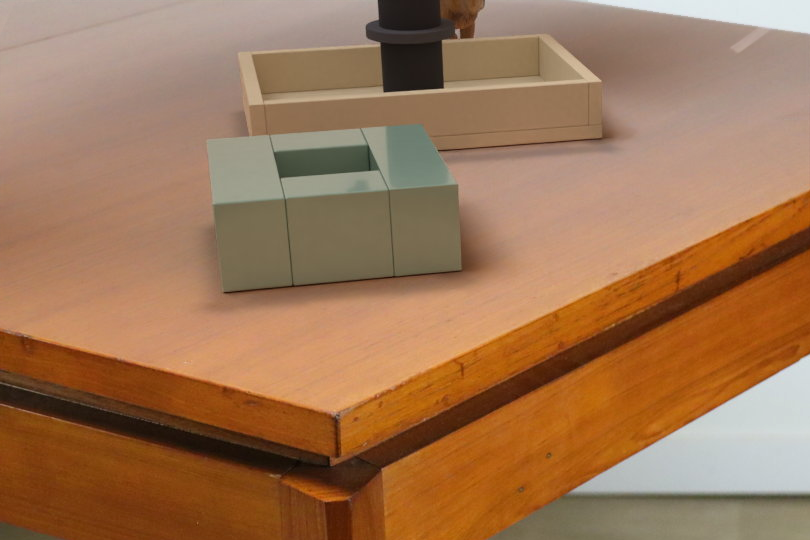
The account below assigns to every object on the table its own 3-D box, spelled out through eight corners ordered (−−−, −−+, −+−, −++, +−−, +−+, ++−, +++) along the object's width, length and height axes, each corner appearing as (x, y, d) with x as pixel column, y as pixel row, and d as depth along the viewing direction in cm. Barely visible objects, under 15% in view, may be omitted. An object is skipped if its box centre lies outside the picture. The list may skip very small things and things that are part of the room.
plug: (376, 121, 88) (363, -76, 83) (365, 99, 92) (353, -88, 88) (465, 114, 89) (457, -80, 84) (450, 94, 93) (442, -92, 89)
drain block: (222, 292, 65) (212, 203, 63) (214, 218, 74) (205, 139, 72) (462, 270, 67) (458, 183, 65) (425, 201, 76) (421, 123, 75)
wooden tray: (254, 164, 83) (248, 104, 81) (243, 104, 95) (237, 52, 93) (602, 138, 87) (602, 81, 85) (549, 84, 99) (548, 33, 97)
